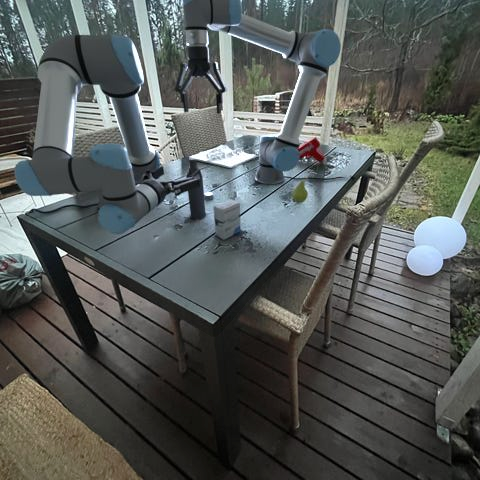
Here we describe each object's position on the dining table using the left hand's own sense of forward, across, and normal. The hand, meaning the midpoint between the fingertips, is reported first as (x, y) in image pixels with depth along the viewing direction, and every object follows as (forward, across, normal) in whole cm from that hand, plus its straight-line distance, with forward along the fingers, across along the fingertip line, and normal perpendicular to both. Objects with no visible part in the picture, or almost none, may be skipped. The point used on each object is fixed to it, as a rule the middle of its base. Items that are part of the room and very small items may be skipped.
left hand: (181, 171), depth 91 cm
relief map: (+90, -16, -22) cm, 94 cm away
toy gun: (+96, +38, -22) cm, 105 cm away
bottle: (+10, 0, -22) cm, 24 cm away
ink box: (0, +16, -22) cm, 27 cm away
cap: (+28, -2, -20) cm, 34 cm away
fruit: (+34, +39, -22) cm, 56 cm away
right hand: (+28, -2, +14) cm, 32 cm away
